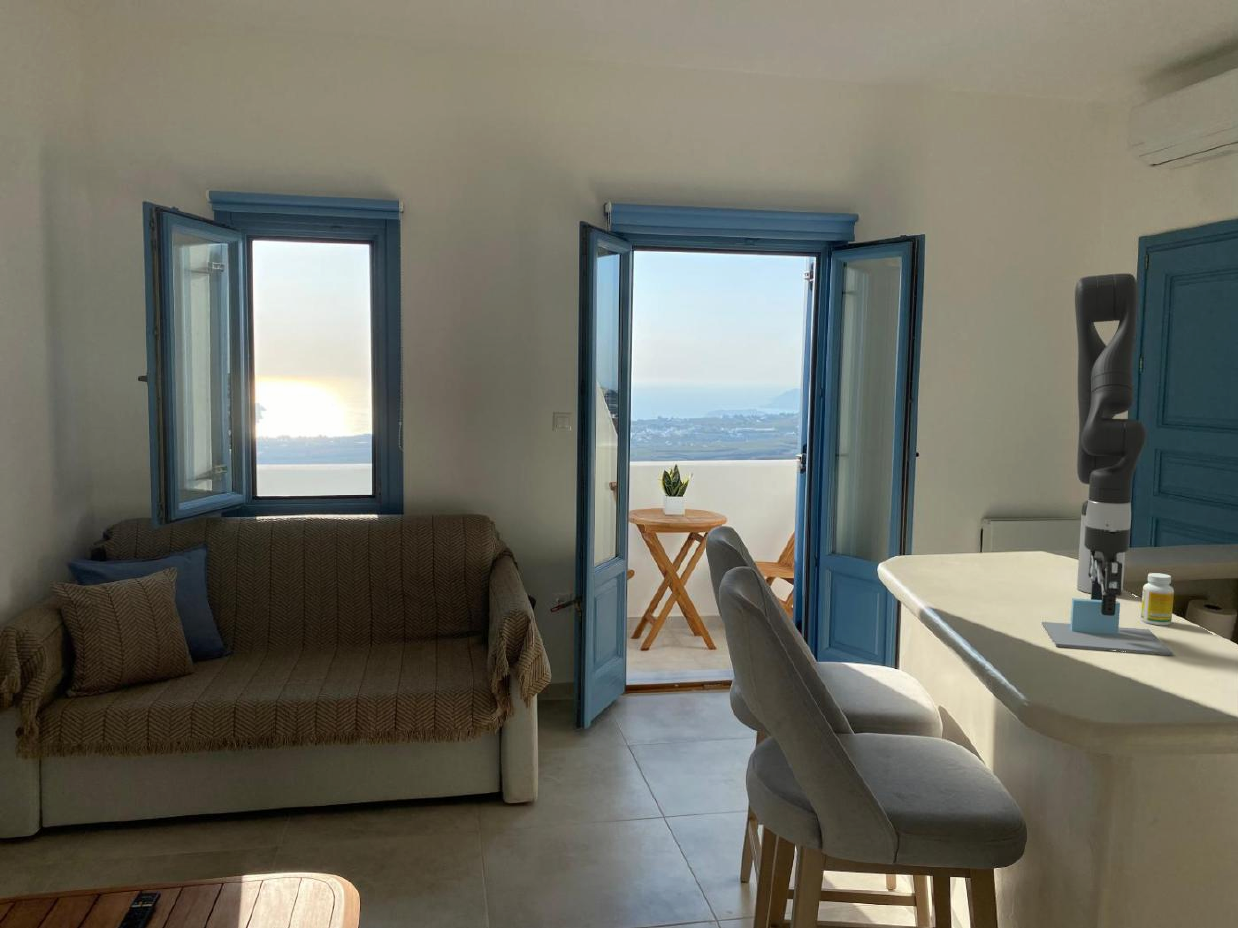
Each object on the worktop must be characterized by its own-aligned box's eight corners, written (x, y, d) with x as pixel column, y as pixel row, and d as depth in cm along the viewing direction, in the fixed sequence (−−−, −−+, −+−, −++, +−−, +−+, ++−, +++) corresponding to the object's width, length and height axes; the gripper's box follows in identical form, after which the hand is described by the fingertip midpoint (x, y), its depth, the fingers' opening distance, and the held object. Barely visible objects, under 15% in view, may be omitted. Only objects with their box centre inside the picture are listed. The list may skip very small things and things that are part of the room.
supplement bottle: (1134, 619, 190) (1137, 572, 189) (1156, 617, 191) (1159, 571, 190) (1155, 626, 185) (1159, 578, 184) (1178, 624, 186) (1181, 577, 185)
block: (1070, 628, 181) (1071, 598, 180) (1115, 632, 179) (1118, 601, 178) (1071, 631, 179) (1073, 600, 179) (1118, 634, 177) (1120, 603, 176)
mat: (1041, 624, 186) (1041, 621, 186) (1148, 632, 181) (1148, 629, 181) (1056, 646, 171) (1056, 643, 171) (1172, 655, 166) (1172, 652, 166)
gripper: (1077, 517, 184) (1073, 598, 186) (1094, 530, 171) (1089, 617, 173) (1120, 519, 182) (1114, 600, 184) (1140, 532, 169) (1134, 620, 171)
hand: (1102, 608), depth 178 cm, fingers open, 8 cm apart
